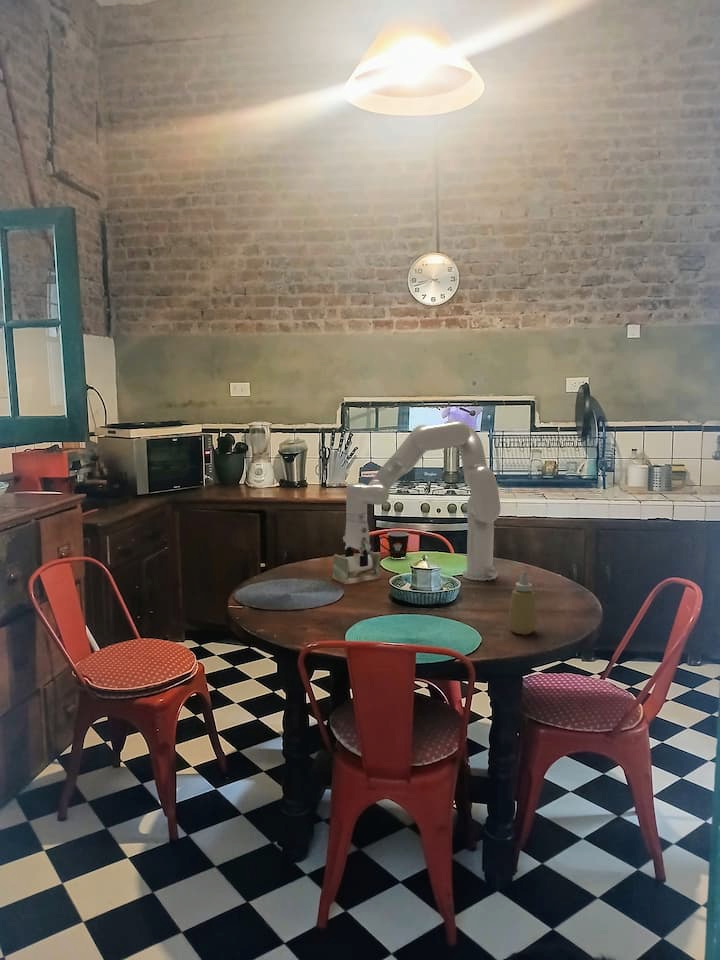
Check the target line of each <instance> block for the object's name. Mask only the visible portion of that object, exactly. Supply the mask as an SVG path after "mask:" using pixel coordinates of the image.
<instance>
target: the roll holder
mask: <svg viewBox="0 0 720 960" xmlns="http://www.w3.org/2000/svg"><path fill="white" fill-rule="evenodd" d="M369 555H370V556H371V558H372V562H373V566H372V569H371V570H366V571H362V572H356V573H348V559H347V558H344V557H345V556H341V555H339V554H337V553H335V554H333V574H332V579H333V580H335V581H336V582H337V581H338V582H340V583H341V584H344V585H349V584H350V585H351V584H356V583H363V582H367V581H371V580H373V581H374V580H378V579H381V573H380V554H379V552H378V553H377V552H375V551H372V550H370V552H369Z"/></svg>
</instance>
